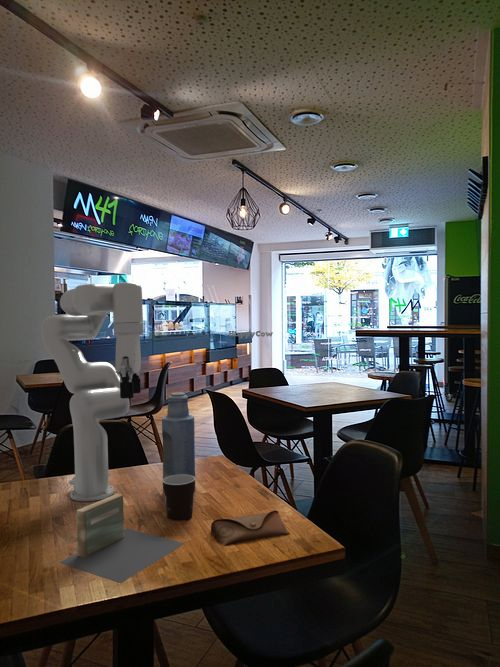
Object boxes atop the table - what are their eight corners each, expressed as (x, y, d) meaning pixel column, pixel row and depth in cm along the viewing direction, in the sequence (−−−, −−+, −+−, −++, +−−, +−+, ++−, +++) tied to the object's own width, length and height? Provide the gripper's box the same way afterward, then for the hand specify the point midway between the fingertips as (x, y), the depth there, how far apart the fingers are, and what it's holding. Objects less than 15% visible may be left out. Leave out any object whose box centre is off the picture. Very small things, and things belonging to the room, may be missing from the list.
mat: (59, 563, 108) (59, 562, 108) (127, 529, 125) (127, 528, 125) (120, 585, 98) (120, 583, 98) (184, 545, 116) (184, 543, 116)
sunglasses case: (221, 547, 114) (216, 516, 117) (213, 551, 120) (209, 522, 123) (292, 533, 121) (286, 505, 124) (282, 538, 126) (276, 511, 129)
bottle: (157, 491, 153) (154, 393, 152) (185, 484, 159) (183, 389, 158) (172, 500, 145) (170, 396, 144) (201, 492, 151) (199, 393, 150)
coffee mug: (190, 524, 127) (189, 485, 127) (158, 522, 129) (157, 484, 129) (203, 507, 139) (202, 471, 138) (173, 506, 140) (173, 470, 140)
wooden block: (77, 555, 111) (76, 510, 110) (118, 535, 121) (117, 493, 121) (85, 557, 109) (84, 512, 109) (125, 537, 120) (124, 495, 119)
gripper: (121, 330, 140) (123, 392, 140) (105, 330, 123) (108, 400, 123) (148, 329, 140) (150, 391, 140) (136, 329, 123) (139, 399, 123)
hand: (130, 395), depth 132 cm, fingers open, 9 cm apart
